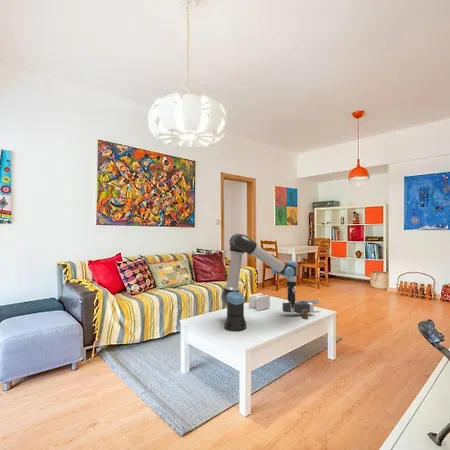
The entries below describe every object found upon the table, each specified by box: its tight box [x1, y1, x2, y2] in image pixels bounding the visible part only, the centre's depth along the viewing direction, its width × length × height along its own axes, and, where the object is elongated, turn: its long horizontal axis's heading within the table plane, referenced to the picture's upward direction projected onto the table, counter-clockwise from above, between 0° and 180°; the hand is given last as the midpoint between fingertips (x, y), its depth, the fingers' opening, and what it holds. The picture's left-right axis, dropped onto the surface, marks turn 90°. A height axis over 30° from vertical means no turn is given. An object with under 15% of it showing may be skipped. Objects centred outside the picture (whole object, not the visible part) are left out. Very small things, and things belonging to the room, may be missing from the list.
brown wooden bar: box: [295, 309, 309, 320], centre depth 222 cm, size 4×17×6 cm, turn 3°
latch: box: [296, 299, 320, 305], centre depth 230 cm, size 3×18×3 cm, turn 94°
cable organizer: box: [248, 292, 271, 311], centre depth 241 cm, size 15×11×12 cm
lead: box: [282, 302, 315, 313], centre depth 222 cm, size 23×5×6 cm, turn 93°
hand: (291, 310), depth 222 cm, fingers closed on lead, 5 cm apart
